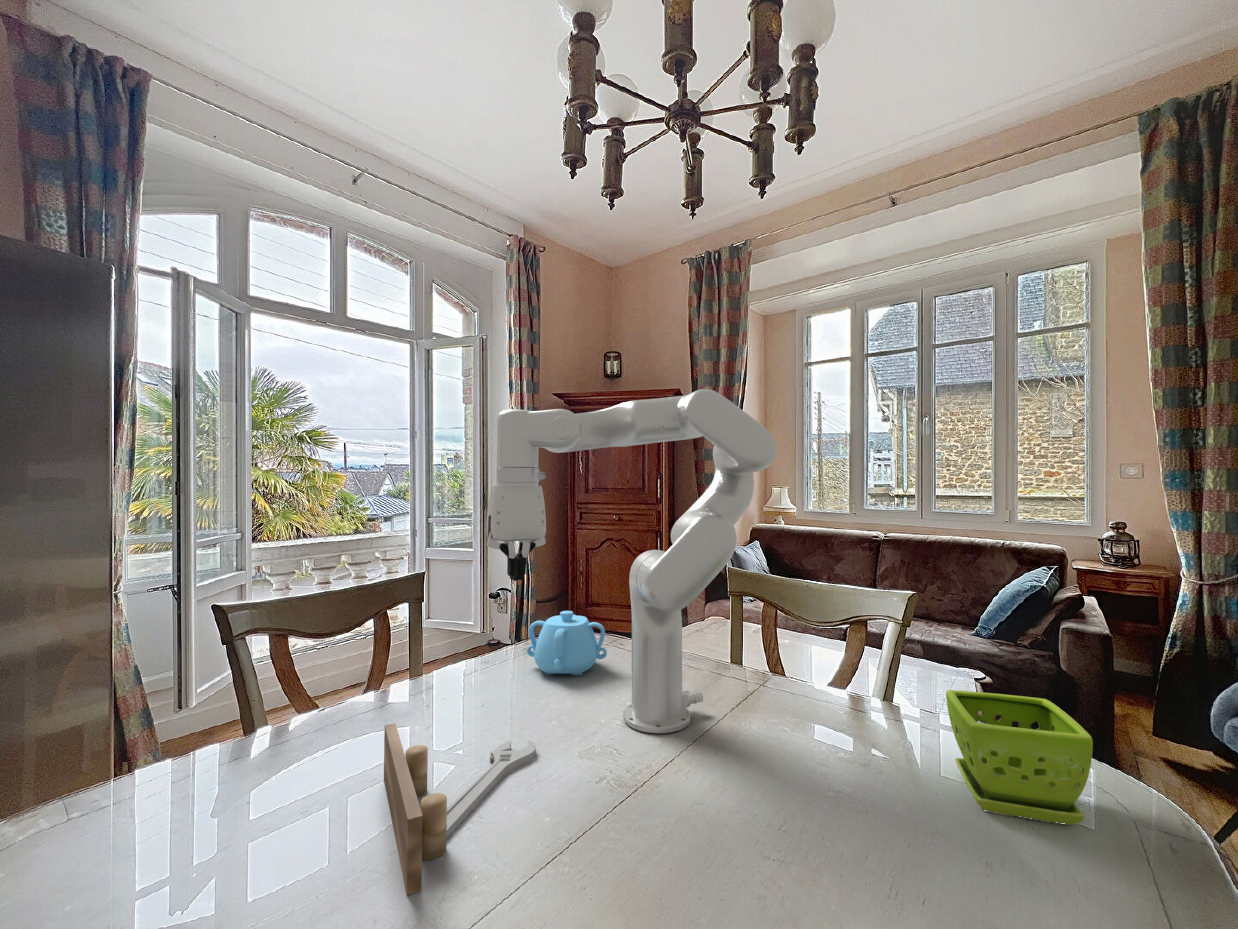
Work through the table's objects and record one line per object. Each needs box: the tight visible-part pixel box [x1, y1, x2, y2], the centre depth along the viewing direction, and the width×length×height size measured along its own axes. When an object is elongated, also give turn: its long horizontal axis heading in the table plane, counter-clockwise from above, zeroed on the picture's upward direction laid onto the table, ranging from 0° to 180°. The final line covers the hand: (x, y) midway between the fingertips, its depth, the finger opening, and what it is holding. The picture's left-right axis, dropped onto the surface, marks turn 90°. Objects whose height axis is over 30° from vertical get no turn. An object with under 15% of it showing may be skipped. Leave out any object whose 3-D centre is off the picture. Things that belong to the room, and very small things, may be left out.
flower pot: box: [945, 689, 1094, 826], centre depth 76 cm, size 14×14×13 cm
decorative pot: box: [526, 610, 608, 676], centre depth 130 cm, size 16×16×14 cm
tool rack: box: [383, 722, 448, 896], centre depth 71 cm, size 5×26×8 cm, turn 29°
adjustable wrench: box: [446, 740, 537, 839], centre depth 79 cm, size 25×6×2 cm, turn 159°
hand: (516, 579), depth 98 cm, fingers closed
